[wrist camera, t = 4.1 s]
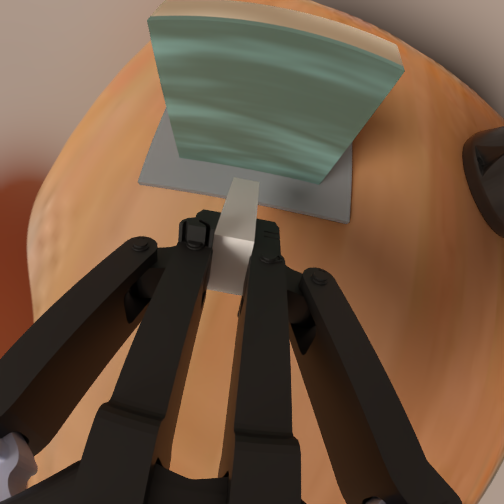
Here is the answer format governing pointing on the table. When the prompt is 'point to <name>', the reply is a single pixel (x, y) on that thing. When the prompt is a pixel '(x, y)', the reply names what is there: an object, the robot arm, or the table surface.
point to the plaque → (267, 84)
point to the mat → (270, 187)
